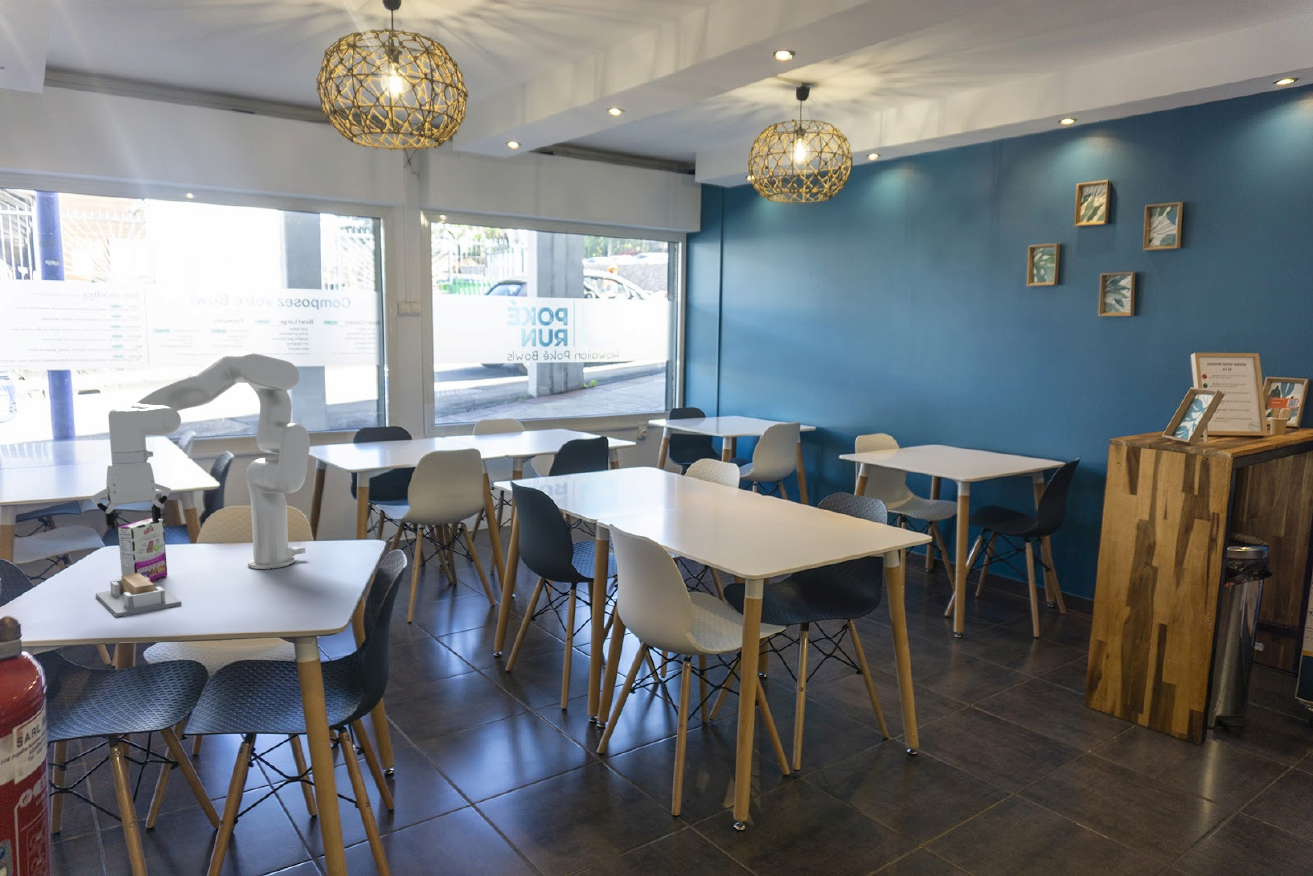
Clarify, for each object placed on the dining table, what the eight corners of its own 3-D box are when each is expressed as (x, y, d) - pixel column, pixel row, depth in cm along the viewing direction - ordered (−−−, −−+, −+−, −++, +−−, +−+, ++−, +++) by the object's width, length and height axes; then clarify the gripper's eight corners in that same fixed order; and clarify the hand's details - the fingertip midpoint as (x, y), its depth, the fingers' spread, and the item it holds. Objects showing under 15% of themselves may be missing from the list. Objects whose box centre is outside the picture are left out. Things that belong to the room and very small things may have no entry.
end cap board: (157, 586, 230) (156, 571, 230) (181, 605, 214) (180, 589, 214) (96, 597, 220) (95, 581, 220) (116, 617, 205) (115, 601, 204)
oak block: (140, 589, 224) (139, 572, 223) (154, 601, 214) (153, 584, 213) (122, 592, 221) (121, 575, 221) (136, 605, 211) (135, 587, 210)
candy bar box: (152, 575, 241) (149, 517, 239) (168, 576, 240) (164, 518, 238) (120, 586, 230) (116, 526, 228) (136, 587, 229) (132, 527, 227)
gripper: (163, 453, 222) (168, 517, 224) (85, 459, 210) (90, 528, 212) (172, 456, 217) (176, 522, 219) (91, 463, 205) (97, 533, 207)
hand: (134, 525), depth 215 cm, fingers open, 9 cm apart
